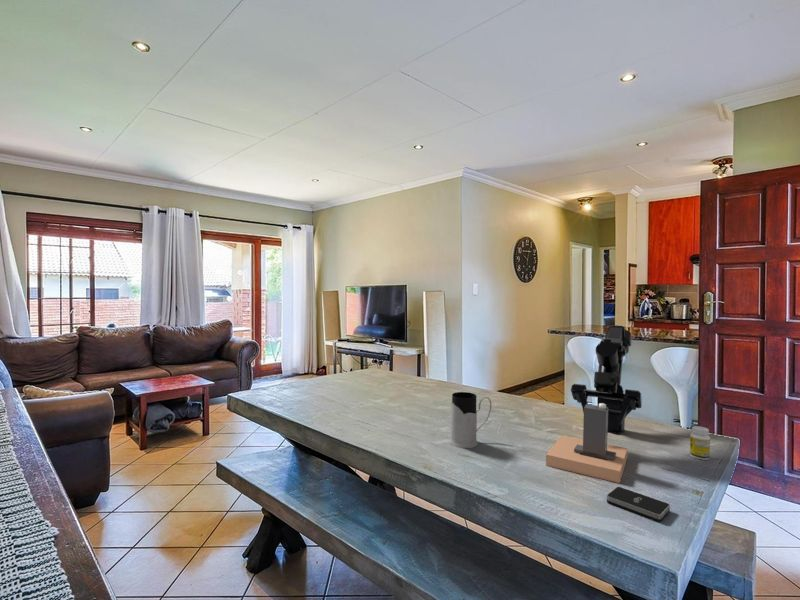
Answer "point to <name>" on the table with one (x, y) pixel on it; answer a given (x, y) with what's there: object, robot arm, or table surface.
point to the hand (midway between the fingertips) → (602, 420)
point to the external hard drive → (638, 504)
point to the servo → (595, 433)
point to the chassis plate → (586, 460)
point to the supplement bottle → (700, 443)
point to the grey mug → (465, 419)
